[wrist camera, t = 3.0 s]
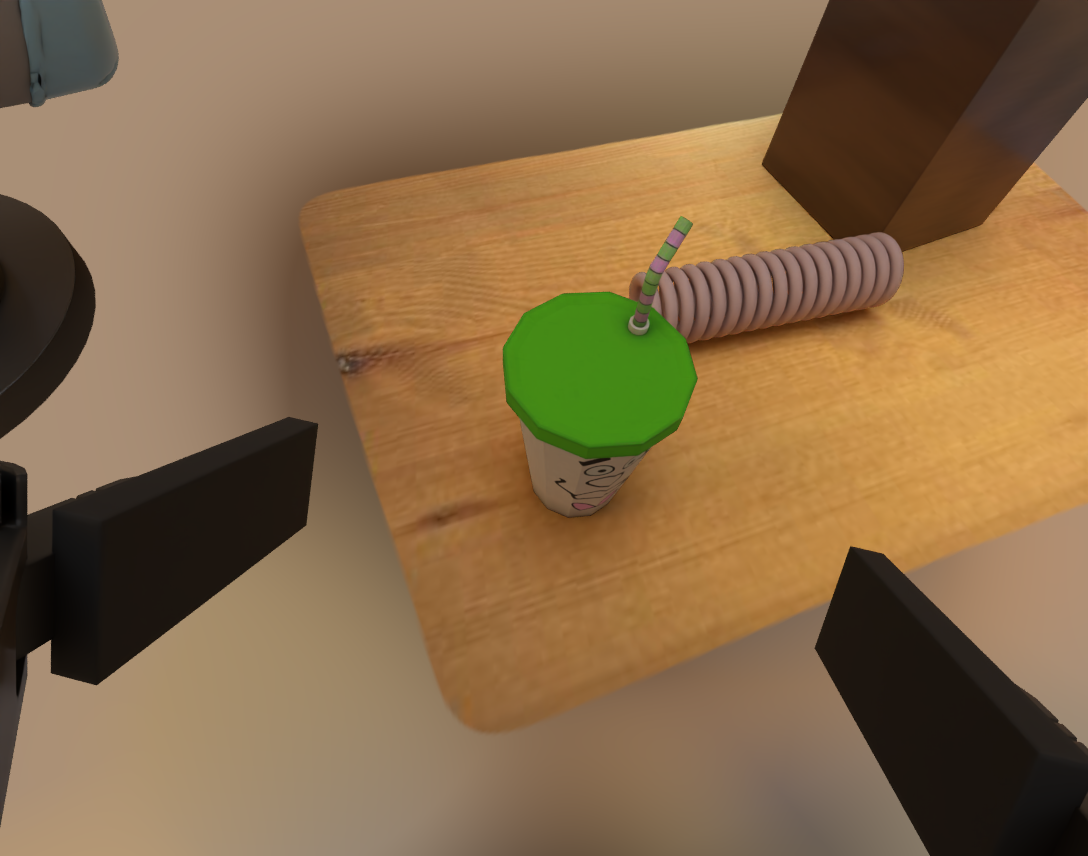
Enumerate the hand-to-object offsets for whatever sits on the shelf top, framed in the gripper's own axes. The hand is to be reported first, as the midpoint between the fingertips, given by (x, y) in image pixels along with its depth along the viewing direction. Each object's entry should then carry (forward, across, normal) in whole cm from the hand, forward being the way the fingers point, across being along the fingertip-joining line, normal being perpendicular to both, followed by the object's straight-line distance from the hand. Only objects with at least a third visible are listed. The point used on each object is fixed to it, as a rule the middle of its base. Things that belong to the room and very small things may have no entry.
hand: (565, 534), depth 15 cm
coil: (+28, +9, +6) cm, 30 cm away
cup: (+18, 0, -4) cm, 19 cm away
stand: (+39, +17, +17) cm, 46 cm away
